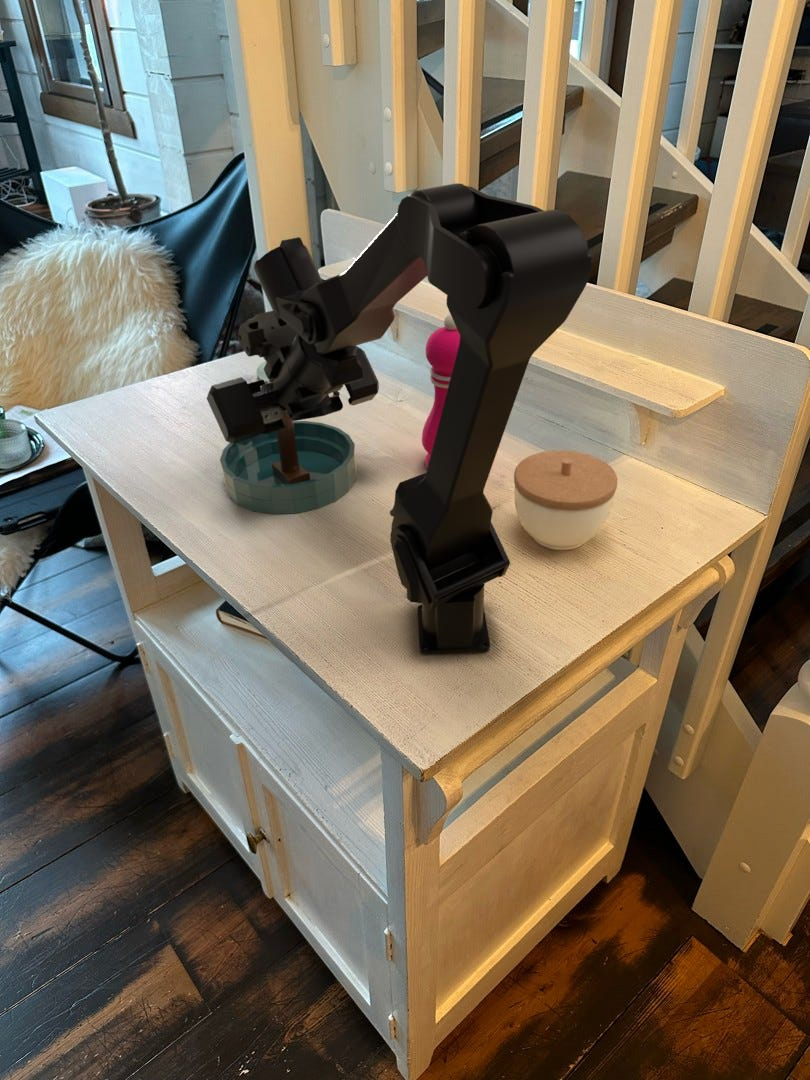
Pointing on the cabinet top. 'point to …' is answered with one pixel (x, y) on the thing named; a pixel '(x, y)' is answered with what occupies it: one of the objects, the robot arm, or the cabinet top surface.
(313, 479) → the bowl
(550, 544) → the trinket box
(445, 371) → the pepper mill
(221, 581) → the cabinet top surface
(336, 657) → the cabinet top surface
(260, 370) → the pacifier
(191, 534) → the cabinet top surface
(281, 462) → the brown wooden post
